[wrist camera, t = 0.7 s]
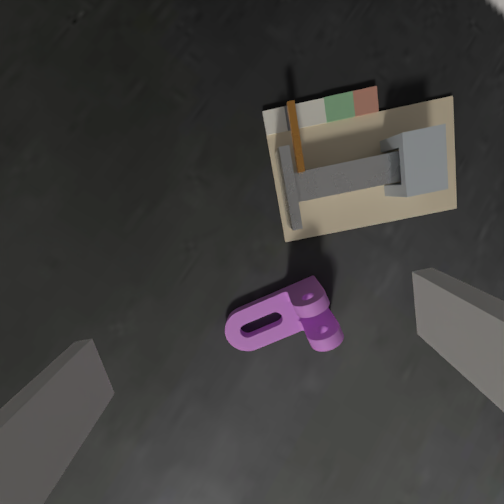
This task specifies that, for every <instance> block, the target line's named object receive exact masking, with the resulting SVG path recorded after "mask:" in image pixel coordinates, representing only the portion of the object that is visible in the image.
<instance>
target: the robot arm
mask: <svg viewBox="0 0 504 504" xmlns="http://www.w3.org/2000/svg"><path fill="white" fill-rule="evenodd" d="M412 277H413V289H414V301H415V313H416V325H417V334H418V335H419V336H420V337H421V338H423V339H424V340H425V341H426V342H427V343H428V344H429V345H430V346H431V347H432V348H434V349H435V350H436V351H437V352H438V353H439V354H440V355H441V356H442V357H444V358H445V359H446V360H447V361H448V362H449V363H450V364H451V365H452V366H454V367H455V368H456V369H457V370H458V371H459V372H460V373H461V374H462V375H463V376H465V377H466V378H467V379H468V380H469V381H470V382H471V383H472V384H473V385H475V386H476V387H477V388H478V389H479V390H480V391H481V392H482V393H483V394H485V395H486V396H487V397H488V398H489V399H490V400H491V401H492V402H493V403H494V404H496V405H497V406H498V407H499V408H500V409H501V410H502V411H503V412H504V301H503V300H500V299H498V298H496V297H494V296H492V295H490V294H488V293H485V292H483V291H481V290H479V289H477V288H475V287H473V286H470V285H468V284H466V283H464V282H462V281H460V280H458V279H455V278H453V277H451V276H449V275H447V274H445V273H442V272H440V271H438V270H436V269H434V268H428V269H423V270H418V271H413V272H412ZM114 394H115V393H114V391H113V388H112V386H111V383H110V381H109V378H108V376H107V374H106V371H105V369H104V366H103V364H102V361H101V359H100V357H99V354H98V352H97V349H96V347H95V344H94V342H93V340H92V338H91V339H87V340H82V341H77V342H74V343H73V344H72V345H71V346H70V347H68V348H67V349H66V350H65V351H64V352H63V353H62V354H61V355H60V356H58V357H57V358H56V359H55V360H54V361H53V362H52V363H51V364H50V365H48V366H47V367H46V368H45V369H44V370H43V371H42V372H41V373H40V374H38V375H37V376H36V377H35V378H34V379H33V380H32V381H31V382H30V383H29V384H27V385H26V386H25V387H24V388H23V389H22V390H21V391H20V392H19V393H17V394H16V395H15V396H14V397H13V398H12V399H11V400H10V401H9V402H7V403H6V404H5V405H4V406H3V407H2V408H1V409H0V504H44V502H45V501H46V499H47V497H48V496H49V494H50V493H51V491H52V490H53V488H54V487H55V485H56V484H57V482H58V480H59V479H60V477H61V476H62V474H63V473H64V471H65V470H66V468H67V466H68V465H69V463H70V462H71V460H72V459H73V457H74V456H75V454H76V453H77V451H78V449H79V448H80V446H81V445H82V443H83V442H84V440H85V439H86V437H87V436H88V434H89V432H90V431H91V429H92V428H93V426H94V425H95V423H96V422H97V420H98V418H99V417H100V415H101V414H102V412H103V411H104V409H105V408H106V406H107V405H108V403H109V401H110V400H111V398H112V397H113V395H114Z"/></svg>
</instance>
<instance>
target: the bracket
mask: <svg viewBox="0 0 504 504" xmlns="http://www.w3.org/2000/svg"><path fill="white" fill-rule="evenodd" d="M329 305H330V302H329V299H328V297H327V295H326V292H325V290H324V288H323V287H322V286H321V284H320V283H319V282H318V280H317V279H316V278H315V276H314V275H312V276H310V277H308V278H306V279H303V280H301V281H299V282H296V283H294V284H292V285H289V286H287V287H285V288H282V289H280V290H278V291H275V292H273V293H271V294H269V295H266V296H264V297H262V298H259V299H257V300H255V301H252V302H250V303H248V304H245V305H243V306H241V307H238V308H236V309H235V310H233V311H232V312H231V313H230V314H229V316H228V318H227V321H226V326H225V335H226V338H227V340H228V342H229V343H230V344H231V345H232V346H233V347H235V348H237V349H239V350H242V351H253V350H256V349H259V348H261V347H263V346H266V345H268V344H271V343H273V342H276V341H278V340H280V339H283V338H285V337H288V336H290V335H292V334H295V333H297V332H300V331H305V333H306V336H307V338H308V340H309V342H310V345H311V347H312V348H313V349H314V350H316V351H329V350H332V349H334V348H336V347H337V346H339V345H340V344H341V343H342V341H343V339H344V335H343V332H342V330H341V328H340V325H339V323H338V321H337V320H336V318H335V317H334V315H333V314H332V312H331V311H330V309H329ZM273 312H277V313H279V314H281V318H280V319H279V320H278V321H275V322H273V323H271V324H268V325H266V326H264V327H261V328H259V329H256V330H254V331H252V332H249V333H247V332H244V331H242V329H241V327H242V326H243V325H245V324H247V323H249V322H252V321H254V320H256V319H259V318H261V317H263V316H266V315H268V314H271V313H273Z"/></svg>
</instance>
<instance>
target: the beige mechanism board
mask: <svg viewBox="0 0 504 504" xmlns="http://www.w3.org/2000/svg"><path fill="white" fill-rule="evenodd" d="M295 107H296V113H297V120H298V127H299V133H300V140H301V146H302V153H303V159H304V166H305V170H310V169H314V168H319V167H324V166H329V165H334V164H339V163H343V162H348V161H353V160H358V159H363V158H367V157H372V156H377V155H382V154H387V153H391V152H396V151H399V158H400V171H401V181H400V182H395V183H390V184H385V185H380V186H376V187H371V188H366V189H361V190H356V191H351V192H346V193H341V194H336V195H331V196H326V197H321V198H316V199H312V200H307V201H302V202H299V208H300V214H301V220H302V226H303V229H298V230H292V229H291V228H290V227H289V226H288V225H287V222H286V216H285V211H284V205H283V199H282V193H281V187H280V182H279V176H278V170H277V164H276V159H275V152H276V151H277V149H278V147H281V146H286V145H289V146H290V152H291V158H292V164H293V171H294V173H295V172H297V168H296V161H295V155H294V149H293V142H292V136H291V130H290V123H289V117H288V111H287V106H284V107H279V108H275V109H270V110H266V111H263V112H262V113H263V119H264V125H265V130H266V136H267V142H268V147H269V153H270V158H271V164H272V170H273V175H274V181H275V187H276V192H277V198H278V204H279V209H280V215H281V220H282V226H283V232H284V237H285V242H289V241H294V240H299V239H304V238H309V237H314V236H319V235H324V234H330V233H335V232H340V231H345V230H350V229H355V228H360V227H365V226H370V225H375V224H380V223H385V222H390V221H395V220H400V219H405V218H410V217H416V216H421V215H426V214H431V213H436V212H441V211H446V210H451V209H456V208H457V196H456V168H455V140H454V112H453V96H449V97H444V98H440V99H435V100H430V101H426V102H421V103H416V104H412V105H407V106H402V107H398V108H393V109H388V110H384V111H379V106H378V95H377V86H373V87H369V88H364V89H360V90H355V91H350V92H346V93H341V94H337V95H332V96H328V97H324V98H321V99H316V100H311V101H307V102H302V103H298V104H295ZM378 111H379V112H378Z"/></svg>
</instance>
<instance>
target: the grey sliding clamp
mask: <svg viewBox="0 0 504 504" xmlns="http://www.w3.org/2000/svg"><path fill="white" fill-rule="evenodd" d="M286 105H287V111H288V117H289V123H290V130H291V136H292V142H293V149H294V155H295V161H296V168H297V172H295V173H294V171H293V164H292V158H291V152H290V146H289V145H286V146H281V147H278V149H277V151H276V152H275V159H276V164H277V170H278V176H279V182H280V187H281V193H282V199H283V205H284V211H285V216H286V222H287V225H288V226H289V227H290V228H291V229H292V230H298V229H303V226H302V220H301V214H300V208H299V202H302V201H307V200H312V199H316V198H321V197H326V196H331V195H336V194H341V193H346V192H351V191H356V190H361V189H366V188H371V187H376V186H380V185H385V184H390V183H395V182H400V181H401V171H400V158H399V151H396V152H391V153H387V154H382V155H377V156H372V157H367V158H363V159H358V160H353V161H348V162H343V163H339V164H334V165H329V166H324V167H319V168H314V169H310V170H305V166H304V159H303V153H302V146H301V140H300V133H299V127H298V120H297V113H296V107H295V100H292V101H287V103H286Z"/></svg>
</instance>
